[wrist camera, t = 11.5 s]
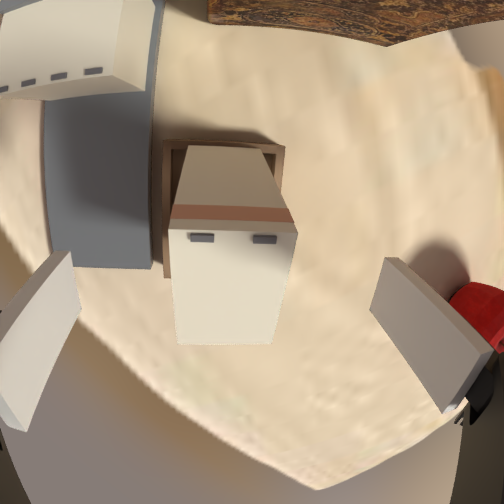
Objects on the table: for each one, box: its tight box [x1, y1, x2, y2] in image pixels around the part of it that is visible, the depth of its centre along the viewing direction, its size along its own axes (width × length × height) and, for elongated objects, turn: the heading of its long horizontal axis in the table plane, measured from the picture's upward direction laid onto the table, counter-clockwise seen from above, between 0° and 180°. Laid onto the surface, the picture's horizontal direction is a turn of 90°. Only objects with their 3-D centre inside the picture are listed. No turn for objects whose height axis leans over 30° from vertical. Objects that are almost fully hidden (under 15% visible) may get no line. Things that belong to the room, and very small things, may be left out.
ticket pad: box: [0, 0, 155, 101], centre depth 13 cm, size 7×8×9 cm
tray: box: [162, 139, 285, 278], centre depth 23 cm, size 11×9×2 cm
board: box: [44, 0, 166, 269], centre depth 20 cm, size 22×9×1 cm, turn 175°
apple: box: [449, 282, 504, 354], centre depth 28 cm, size 10×10×11 cm
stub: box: [168, 145, 298, 345], centre depth 18 cm, size 7×5×11 cm
